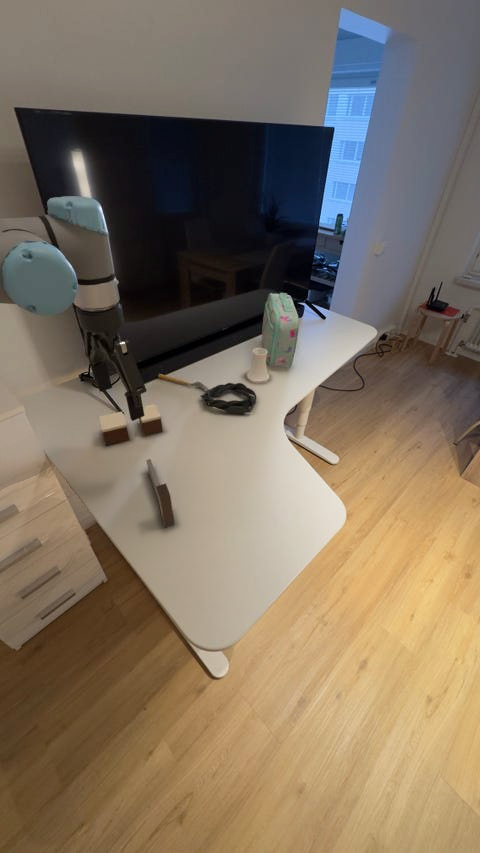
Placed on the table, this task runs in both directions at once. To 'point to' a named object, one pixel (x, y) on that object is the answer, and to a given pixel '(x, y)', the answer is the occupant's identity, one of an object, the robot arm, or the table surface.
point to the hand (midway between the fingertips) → (120, 402)
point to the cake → (114, 428)
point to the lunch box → (280, 330)
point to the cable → (232, 405)
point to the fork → (182, 381)
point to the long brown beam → (162, 497)
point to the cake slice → (151, 420)
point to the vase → (258, 367)
